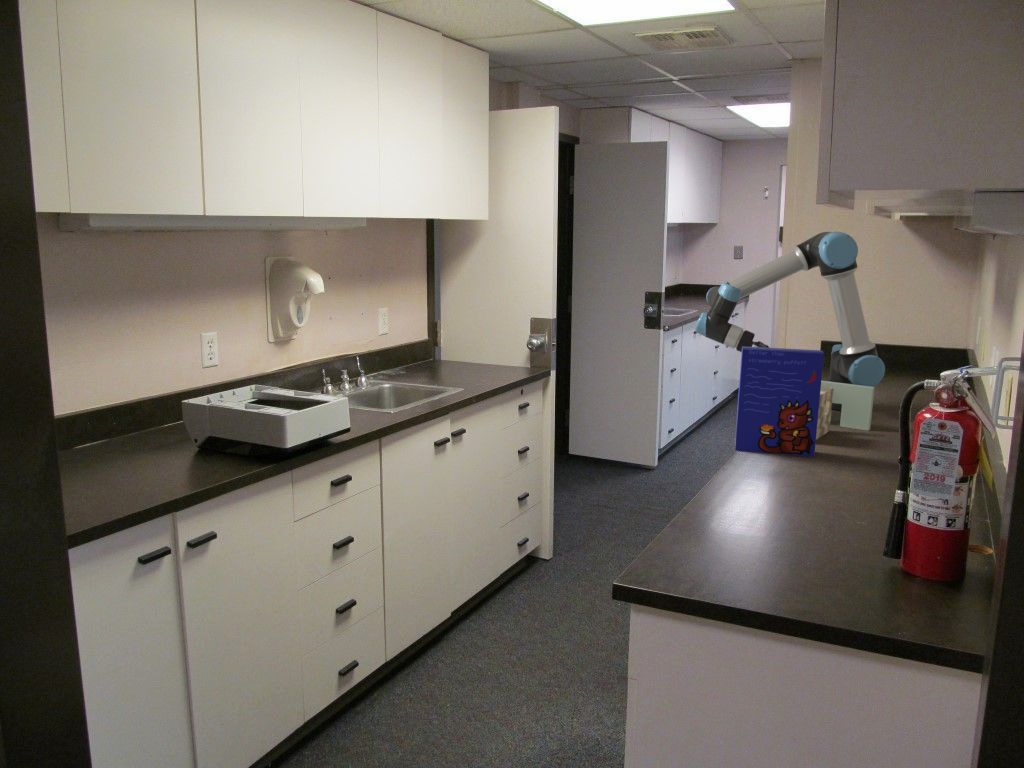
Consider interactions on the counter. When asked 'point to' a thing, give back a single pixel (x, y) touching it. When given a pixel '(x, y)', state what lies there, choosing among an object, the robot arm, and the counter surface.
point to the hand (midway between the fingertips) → (799, 365)
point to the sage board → (853, 403)
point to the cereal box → (778, 400)
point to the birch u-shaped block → (824, 412)
